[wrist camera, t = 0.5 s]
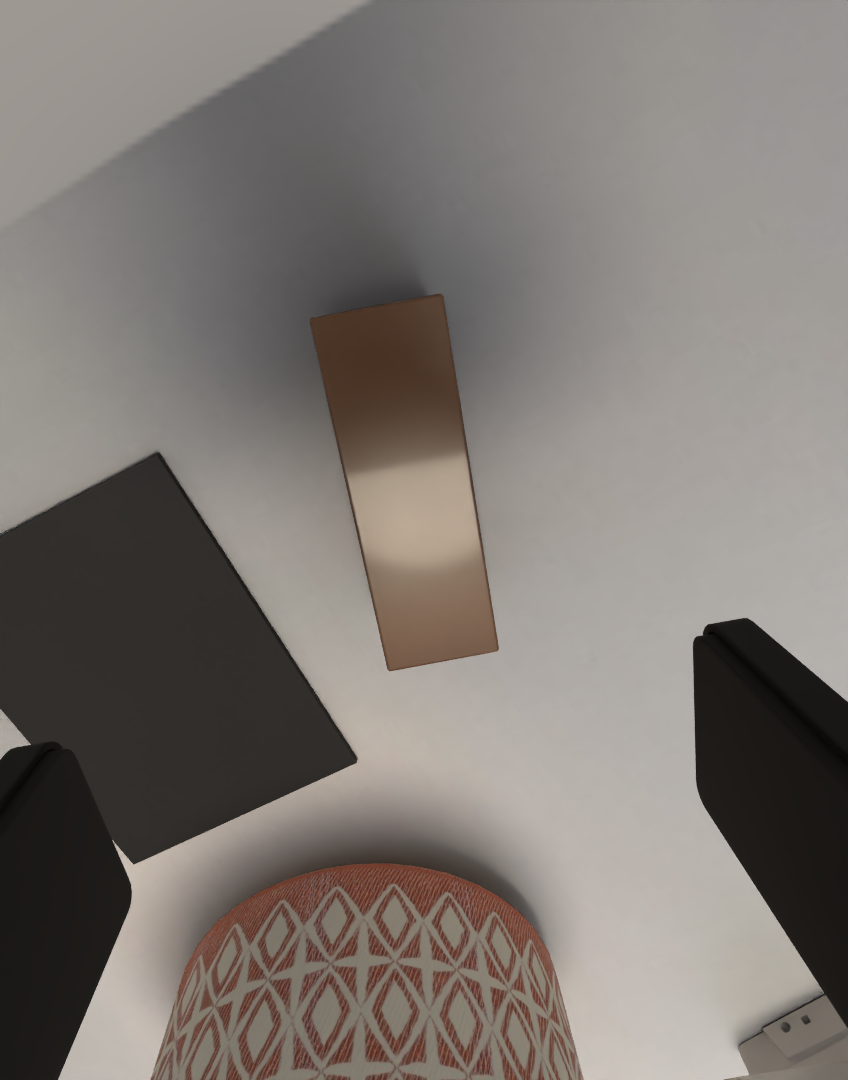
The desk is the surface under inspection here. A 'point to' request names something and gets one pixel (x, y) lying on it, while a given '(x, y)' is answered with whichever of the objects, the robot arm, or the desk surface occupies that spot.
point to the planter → (370, 986)
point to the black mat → (153, 664)
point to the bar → (408, 477)
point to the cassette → (798, 1040)
